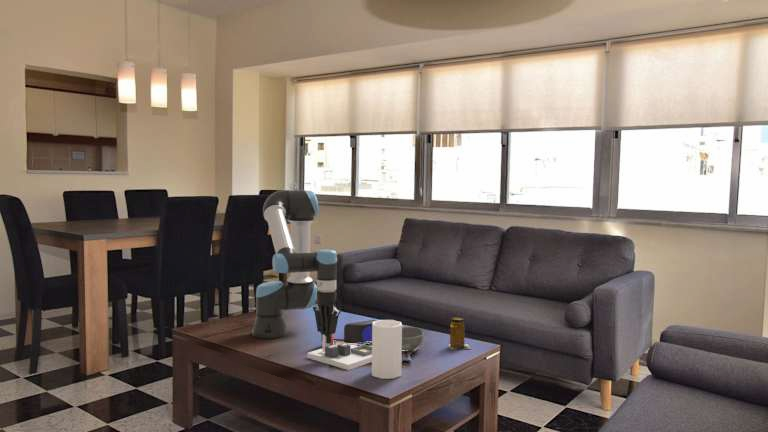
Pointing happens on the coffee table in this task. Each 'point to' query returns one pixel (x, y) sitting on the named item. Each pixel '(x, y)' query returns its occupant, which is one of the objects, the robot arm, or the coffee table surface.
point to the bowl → (411, 338)
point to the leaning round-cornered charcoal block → (358, 332)
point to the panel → (345, 357)
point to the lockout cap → (332, 339)
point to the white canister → (386, 349)
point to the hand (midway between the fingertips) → (326, 351)
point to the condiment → (457, 334)
